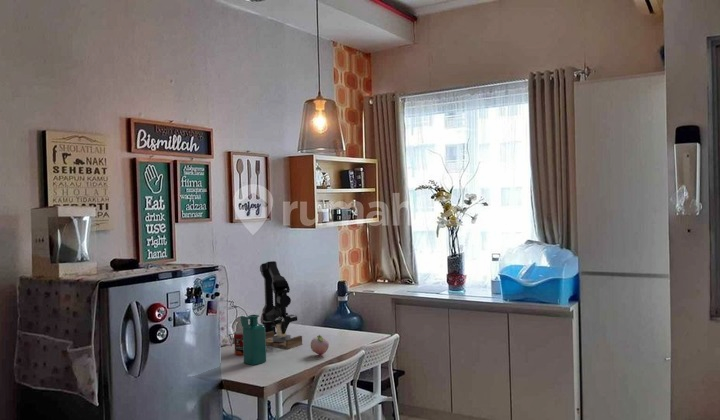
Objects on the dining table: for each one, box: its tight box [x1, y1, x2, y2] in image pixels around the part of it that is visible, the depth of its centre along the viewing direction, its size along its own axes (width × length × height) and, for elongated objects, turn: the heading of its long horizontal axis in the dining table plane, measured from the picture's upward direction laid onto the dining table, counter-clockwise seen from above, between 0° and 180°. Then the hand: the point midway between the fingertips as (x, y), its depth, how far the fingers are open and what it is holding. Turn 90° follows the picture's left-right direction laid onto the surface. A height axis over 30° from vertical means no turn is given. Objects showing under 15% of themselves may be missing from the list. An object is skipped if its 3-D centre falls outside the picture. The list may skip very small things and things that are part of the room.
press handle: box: [273, 324, 292, 343], centre depth 306 cm, size 6×7×8 cm
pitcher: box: [240, 314, 267, 366], centre depth 273 cm, size 10×8×22 cm
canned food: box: [233, 329, 244, 357], centre depth 290 cm, size 8×8×11 cm
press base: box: [265, 331, 303, 350], centre depth 307 cm, size 22×10×4 cm, turn 52°
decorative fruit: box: [310, 334, 330, 357], centre depth 282 cm, size 9×8×10 cm
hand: (281, 333), depth 306 cm, fingers closed on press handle, 3 cm apart
